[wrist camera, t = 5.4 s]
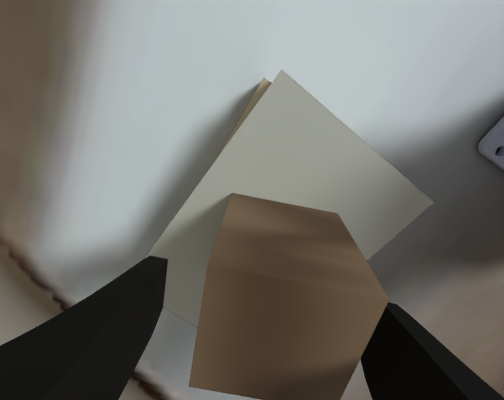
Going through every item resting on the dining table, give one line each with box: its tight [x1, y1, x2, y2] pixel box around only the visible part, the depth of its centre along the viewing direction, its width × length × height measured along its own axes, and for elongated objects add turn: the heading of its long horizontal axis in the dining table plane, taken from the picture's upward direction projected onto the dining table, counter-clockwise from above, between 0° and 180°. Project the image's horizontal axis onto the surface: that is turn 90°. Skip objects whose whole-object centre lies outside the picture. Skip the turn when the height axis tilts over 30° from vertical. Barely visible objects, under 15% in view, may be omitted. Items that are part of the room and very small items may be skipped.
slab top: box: [144, 70, 434, 327], centre depth 13 cm, size 8×12×2 cm, turn 142°
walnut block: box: [189, 193, 389, 400], centre depth 10 cm, size 4×4×5 cm
